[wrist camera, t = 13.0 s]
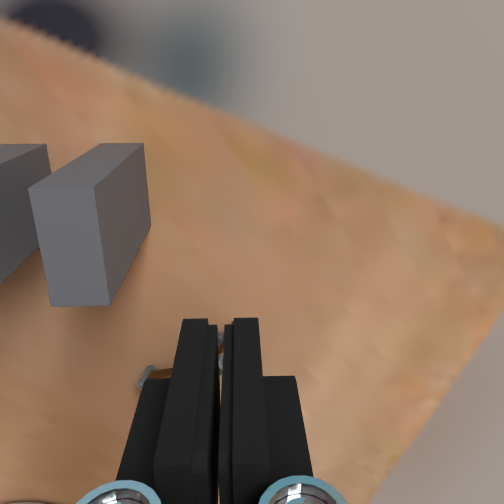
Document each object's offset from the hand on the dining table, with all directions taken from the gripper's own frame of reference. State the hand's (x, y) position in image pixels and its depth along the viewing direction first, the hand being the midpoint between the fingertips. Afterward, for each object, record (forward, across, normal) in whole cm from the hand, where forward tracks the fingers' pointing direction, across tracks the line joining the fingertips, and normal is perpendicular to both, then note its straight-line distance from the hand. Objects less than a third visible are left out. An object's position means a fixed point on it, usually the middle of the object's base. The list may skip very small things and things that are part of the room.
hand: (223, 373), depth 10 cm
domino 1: (+18, +6, 0) cm, 19 cm away
